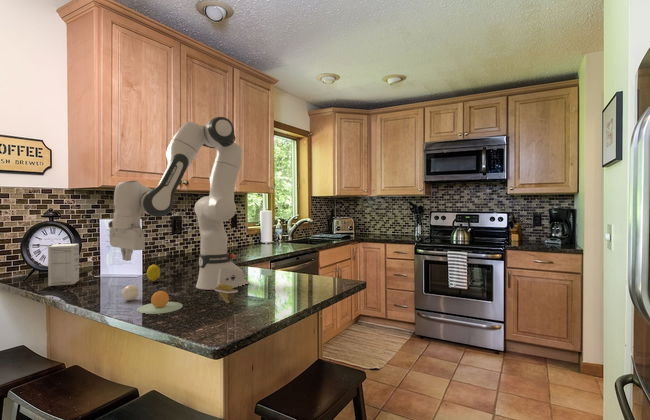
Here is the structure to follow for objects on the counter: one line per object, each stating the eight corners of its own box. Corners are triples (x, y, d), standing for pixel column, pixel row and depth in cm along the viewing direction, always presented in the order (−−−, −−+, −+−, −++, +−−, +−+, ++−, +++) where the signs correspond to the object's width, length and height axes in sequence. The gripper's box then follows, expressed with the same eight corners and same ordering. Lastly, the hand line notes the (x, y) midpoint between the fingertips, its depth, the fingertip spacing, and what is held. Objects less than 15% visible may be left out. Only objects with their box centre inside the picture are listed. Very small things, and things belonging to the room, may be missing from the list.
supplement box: (79, 280, 160) (80, 243, 160) (74, 284, 152) (75, 245, 152) (53, 281, 156) (54, 243, 156) (47, 286, 148) (47, 246, 148)
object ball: (174, 299, 120) (167, 306, 123) (166, 285, 121) (159, 293, 124) (160, 305, 116) (153, 313, 118) (152, 291, 116) (145, 299, 119)
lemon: (162, 280, 162) (162, 263, 162) (155, 283, 157) (155, 265, 157) (151, 280, 163) (151, 262, 163) (143, 282, 157) (144, 264, 157)
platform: (229, 311, 118) (229, 291, 118) (194, 303, 127) (194, 284, 127) (254, 303, 128) (254, 285, 128) (219, 296, 137) (220, 279, 137)
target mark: (173, 300, 129) (173, 299, 129) (189, 308, 119) (189, 307, 119) (131, 307, 119) (131, 306, 119) (144, 316, 109) (144, 316, 109)
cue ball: (139, 283, 127) (144, 296, 129) (131, 281, 131) (136, 294, 132) (123, 290, 123) (129, 304, 125) (116, 288, 127) (122, 302, 128)
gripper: (149, 224, 129) (149, 262, 129) (123, 222, 141) (122, 257, 141) (132, 225, 124) (131, 264, 124) (106, 222, 136) (105, 258, 136)
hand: (126, 260), depth 133 cm, fingers closed
